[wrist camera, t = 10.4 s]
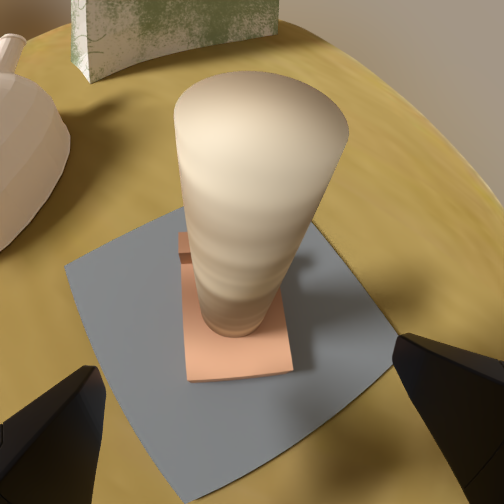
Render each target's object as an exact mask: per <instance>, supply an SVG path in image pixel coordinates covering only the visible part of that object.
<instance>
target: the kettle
mask: <svg viewBox="0 0 504 504" xmlns="http://www.w3.org/2000/svg"><path fill="white" fill-rule="evenodd" d="M25 45H26V40H25V38H24V37H22V36H20V35H16V34H6V35H4V36H3V37H1V38H0V251H1V250H3V249H4V248H5V247H7V246H8V245H9V244H10V243H11V242H12V241H13V240H14V239H15V238H16V237H17V235H18V234H19V233H20V232H21V231H22V230H23V229H24V228H25V227H26V226H27V225H28V224H29V223H30V222H31V221H32V219H33V218H34V216H35V215H36V214H37V212H38V211H39V210H40V208H41V207H42V206H43V204H44V203H45V202H46V201H47V199H48V198H49V196H50V194H51V192H52V190H53V189H54V187H55V185H56V183H57V182H58V180H59V178H60V176H61V175H62V173H63V170H64V167H65V164H66V161H67V158H68V155H69V153H70V134H69V131H68V129H67V127H66V125H65V124H64V123H63V121H62V119H61V117H60V114H59V112H58V110H57V108H56V106H55V104H54V102H53V100H52V98H51V97H50V96H49V95H48V94H47V93H46V92H45V91H44V90H43V89H42V88H41V87H40V86H39V85H38V84H36V83H35V82H33V81H31V80H30V79H27V78H24V77H22V76H19V75H16V74H14V71H15V69H16V66H17V63H18V60H19V57H20V55H21V52H22V49H23V47H24V46H25Z"/></svg>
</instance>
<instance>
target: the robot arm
mask: <svg viewBox="0 0 504 504" xmlns="http://www.w3.org/2000/svg"><path fill="white" fill-rule="evenodd" d="M392 362H393V365H394V367H395V369H396V371H397V373H398V375H399V377H400V379H401V381H402V383H403V385H404V387H405V389H406V391H407V394H408V395H409V397H410V399H411V401H412V403H413V404H414V406H415V408H416V409H417V411H418V412H419V414H420V416H421V417H422V419H423V421H424V422H425V424H426V426H427V427H428V429H429V431H430V433H431V434H432V436H433V438H434V439H435V441H436V443H437V445H438V446H439V448H440V450H441V451H442V453H443V455H444V457H445V459H446V460H447V462H448V464H449V466H450V467H451V469H452V471H453V473H454V475H455V477H456V478H457V480H458V482H459V484H460V486H461V488H462V489H463V492H464V494H465V496H466V498H467V500H468V502H469V504H504V361H501V360H499V361H498V360H497V359H494V358H490V357H487V356H483V355H480V354H477V353H473V352H470V351H467V350H463V349H460V348H457V347H453V346H450V345H447V344H444V343H440V342H437V341H434V340H431V339H427V338H424V337H421V336H418V335H415V334H412V333H406V334H402V335H399V336H398V337H397V339H396V342H395V346H394V350H393V354H392ZM105 400H106V389H105V386H104V383H103V380H102V378H101V375H100V372H99V370H98V368H97V367H96V366H87V365H84V366H82V367H81V368H79V369H78V370H76V371H75V372H73V373H72V374H71V375H69V376H68V377H66V378H65V379H64V380H62V381H61V382H59V383H58V384H57V385H55V386H54V387H52V388H51V389H49V390H48V391H47V392H45V393H44V394H42V395H41V396H40V397H38V398H37V399H35V400H34V401H33V402H31V403H30V404H28V405H27V406H26V407H24V408H23V409H21V410H20V411H19V412H17V413H16V414H14V415H13V416H11V417H10V418H9V419H7V420H6V421H4V422H3V424H0V504H91V502H92V494H93V487H94V481H95V474H96V468H97V462H98V457H99V451H100V446H101V440H102V432H103V420H104V410H105Z"/></svg>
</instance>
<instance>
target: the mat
mask: <svg viewBox="0 0 504 504" xmlns="http://www.w3.org/2000/svg"><path fill="white" fill-rule="evenodd" d="M178 232H187V225H186V218H185V211H184V206H183V207H181V208H179V209H177V210H174V211H172V212H170V213H168V214H166V215H164V216H161V217H159V218H157V219H155V220H153V221H151V222H149V223H147V224H145V225H143V226H140V227H138V228H136V229H134V230H132V231H130V232H128V233H126V234H124V235H122V236H120V237H118V238H116V239H114V240H112V241H110V242H108V243H106V244H105V245H103V246H101V247H99V248H97V249H95V250H93V251H91V252H89V253H87V254H85V255H84V256H82V257H80V258H78V259H76V260H74V261H73V262H71V263H69V264H67V265H65V266H64V268H65V271H66V275H67V278H68V281H69V284H70V288H71V291H72V294H73V297H74V300H75V303H76V306H77V309H78V312H79V314H80V317H81V320H82V323H83V325H84V328H85V330H86V333H87V336H88V338H89V340H90V343H91V345H92V348H93V350H94V352H95V355H96V357H97V359H98V362H99V364H100V366H101V368H102V370H103V373H104V375H105V377H106V379H107V381H108V383H109V385H110V387H111V389H112V391H113V393H114V395H115V397H116V399H117V401H118V403H119V405H120V407H121V408H122V410H123V412H124V414H125V416H126V418H127V419H128V421H129V423H130V425H131V426H132V428H133V430H134V431H135V433H136V435H137V436H138V438H139V440H140V441H141V443H142V445H143V446H144V448H145V449H146V451H147V452H148V454H149V455H150V457H151V458H152V460H153V461H154V463H155V464H156V466H157V467H158V469H159V470H160V472H161V473H162V475H163V476H164V477H165V479H166V480H167V481H168V483H169V484H170V486H171V487H172V488H173V490H174V491H175V492H176V493H177V495H178V496H179V497H180V499H181V500H182V501H183V502H184V504H186V503H188V502H191V501H193V500H195V499H197V498H200V497H202V496H204V495H206V494H208V493H210V492H212V491H215V490H217V489H219V488H221V487H223V486H225V485H227V484H228V483H230V482H232V481H234V480H236V479H238V478H240V477H242V476H243V475H245V474H247V473H249V472H251V471H252V470H254V469H256V468H258V467H259V466H261V465H263V464H264V463H266V462H268V461H269V460H271V459H272V458H274V457H276V456H277V455H279V454H280V453H282V452H283V451H285V450H287V449H288V448H290V447H291V446H293V445H294V444H296V443H297V442H298V441H300V440H301V439H303V438H304V437H306V436H307V435H309V434H310V433H311V432H313V431H314V430H315V429H317V428H318V427H320V426H321V425H322V424H324V423H325V422H326V421H327V420H329V419H330V418H331V417H333V416H334V415H335V414H336V413H338V412H339V411H340V410H342V409H343V408H344V407H345V406H346V405H348V404H349V403H350V402H351V401H352V400H354V399H355V398H356V397H357V396H358V395H360V394H361V393H362V392H363V391H364V390H365V389H366V388H368V387H369V386H370V385H371V384H372V383H373V382H374V381H375V380H376V379H378V378H379V377H380V376H381V375H382V374H383V373H384V372H385V371H386V370H387V369H388V368H389V367H390V366H391V365H392V364H393V362H392V354H393V350H394V346H395V342H396V339H397V337H398V334H397V333H396V332H395V330H394V329H393V327H392V326H391V324H390V323H389V322H388V320H387V319H386V317H385V316H384V315H383V313H382V312H381V311H380V309H379V308H378V307H377V305H376V304H375V302H374V301H373V300H372V298H371V297H370V296H369V294H368V293H367V292H366V290H365V289H364V288H363V286H362V285H361V284H360V282H359V281H358V280H357V278H356V277H355V276H354V275H353V273H352V272H351V271H350V269H349V268H348V267H347V266H346V264H345V263H344V262H343V260H342V259H341V258H340V257H339V255H338V254H337V253H336V252H335V250H334V249H333V248H332V247H331V245H330V244H329V243H328V242H327V240H326V239H325V238H324V237H323V235H322V234H321V233H320V232H319V231H318V229H317V228H316V227H315V226H314V224H313V223H312V222H311V223H310V225H309V227H308V229H307V231H306V233H305V236H304V238H303V240H302V242H301V244H300V246H299V248H298V250H297V252H296V254H295V256H294V258H293V260H292V263H291V265H290V267H289V269H288V271H287V273H286V275H285V277H284V279H283V281H282V283H281V285H280V290H281V296H282V302H283V308H284V314H285V320H286V326H287V332H288V339H289V345H290V351H291V358H292V364H293V371H290V372H288V373H286V374H282V375H274V376H267V377H258V378H249V379H240V380H229V381H217V382H202V383H190V382H189V381H187V373H186V361H185V347H184V331H183V312H182V285H181V262H180V258H179V253H178Z"/></svg>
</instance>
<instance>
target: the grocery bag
mask: <svg viewBox="0 0 504 504" xmlns="http://www.w3.org/2000/svg"><path fill="white" fill-rule="evenodd" d="M278 12H279V0H71V19H72V34H71V62H72V63H73V64H74V65H75V66H77V67H78V68H79V69H80V70H81V71H82V73H83V74H84V76H85V77H86V78H87V80H88V81H89V83H90V84H92V83H94V82H96V81H98V80H100V79H102V78H104V77H106V76H108V75H111V74H113V73H115V72H117V71H120V70H122V69H125V68H127V67H129V66H132V65H134V64H137V63H140V62H143V61H147V60H150V59H154V58H157V57H161V56H165V55H169V54H173V53H177V52H181V51H186V50H190V49H195V48H200V47H205V46H210V45H216V44H222V43H229V42H236V41H242V40H247V39H252V38H258V37H264V36H270V35H276V34H278Z"/></svg>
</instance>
